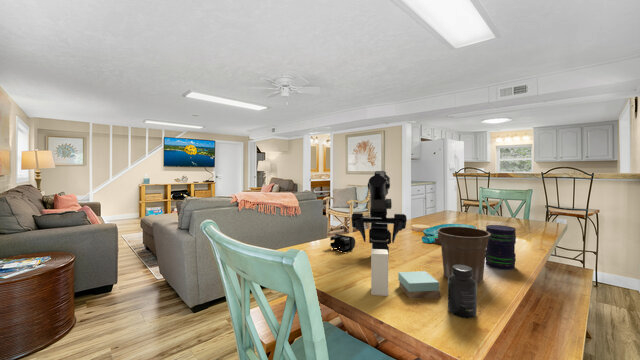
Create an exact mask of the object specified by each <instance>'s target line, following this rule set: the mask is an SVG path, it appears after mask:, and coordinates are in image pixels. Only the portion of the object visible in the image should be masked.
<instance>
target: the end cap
mask: <svg viewBox="0 0 640 360" xmlns="http://www.w3.org/2000/svg"><path fill="white" fill-rule="evenodd" d="M329 240H330V241H332V242H330V245H329V247H330V248H333V249H334V248H337V249H335V250H339V251H342V252H341V253H343V252H347V253H349V252H348V251H350V252H352V251H353V250H354V249H355V247H356V239H355V237H354V236H351V235H345V234H339V233H335V234H334V235H333V236H330V239H329ZM339 247H340V248H339ZM335 250H334V251H335ZM351 250H352V251H351ZM339 251H338V252H339Z"/></svg>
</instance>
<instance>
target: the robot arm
mask: <svg viewBox="0 0 640 360" xmlns="http://www.w3.org/2000/svg"><path fill="white" fill-rule="evenodd" d="M390 182H391V180H390V176H388V175H387V172H386V171H384V170H378V171H377V170H375V171H374V175H373V176H371V177H369V179H368V182H367V189H368V190H369V194H370V195H369V196H370V197H369V198H370V199H369V201H370V202H369V204H370V205H369V215H370V216H364V213H363V212H353V213H352V214H351V219H350V220H351V227H352V228H354V229H355V230H358V232H359V233H360V234H361V236H362V237H361V238H362V239H363V242H364V243H366V240H367V239H366V229H365V224H370V228H369V229H368V243H369V244H371V249H385V250H388V257H389V256H390V255H389V252H390V247H389V245H390V244H394V243H395V240H396V237H397V235H398V233H399V232H401V231H402V230H406V228H407V221H408V220H407V218H408V217H407V215H406V214H405V213H394V214H393V217H387V216H388V210H391V209H392V206H393V205H392V198H387V197H386V196H387V195H388V194H389V189H390V188H391V183H390ZM388 225H393V227H392V233H391V232H390V229H389V226H388Z"/></svg>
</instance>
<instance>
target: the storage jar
mask: <svg viewBox="0 0 640 360" xmlns="http://www.w3.org/2000/svg"><path fill="white" fill-rule="evenodd" d="M516 230H517V229H516V228H515V227H513V226H508V225H502V224H500V225H499V224H488V225H486V226H485V231H487V232H489V233H490V237H489V239H488V246H487V247H486V255H485V266H487V267H489V268H492V269H494V270H500V271H513V270H515V269H516V258H517V257H516V252H515V250H516V249H515V247H516V246H515V245H516V244H517V243H516V242H517V232H516Z"/></svg>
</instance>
